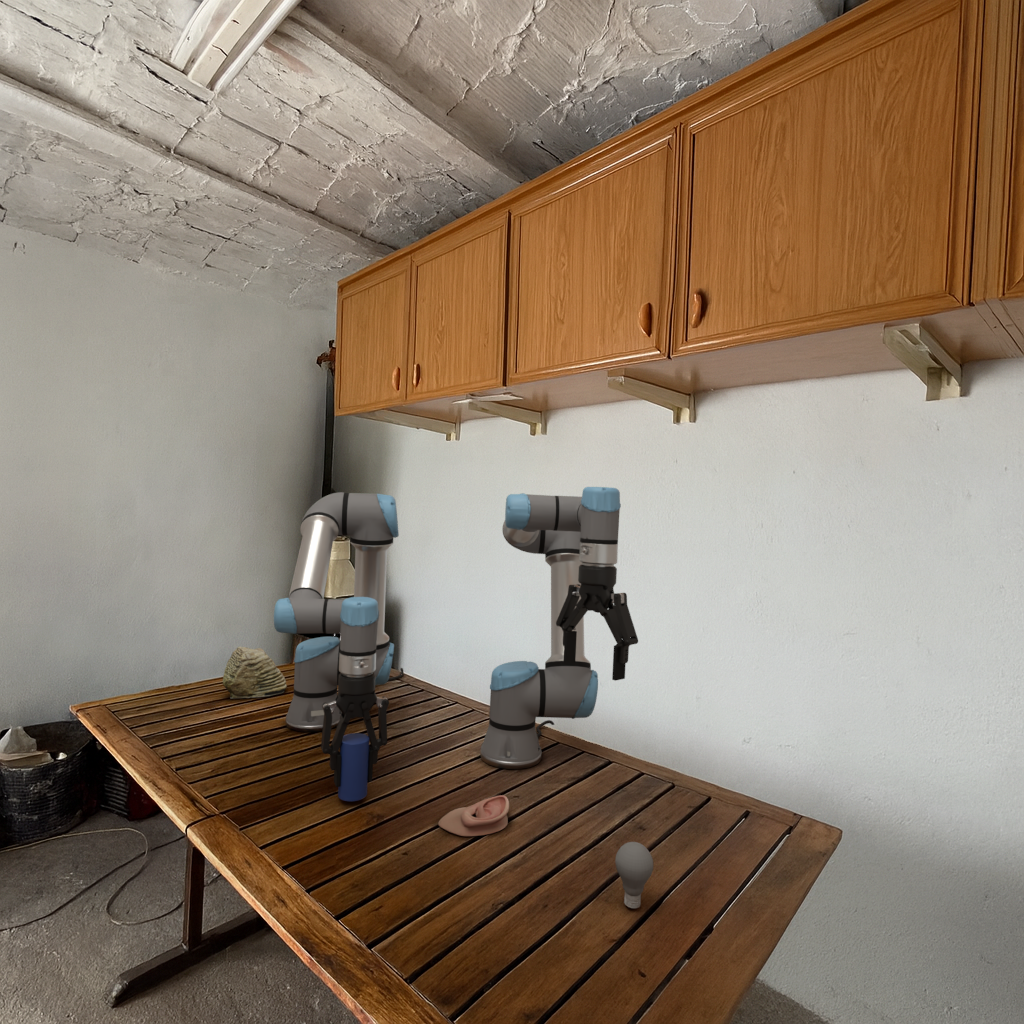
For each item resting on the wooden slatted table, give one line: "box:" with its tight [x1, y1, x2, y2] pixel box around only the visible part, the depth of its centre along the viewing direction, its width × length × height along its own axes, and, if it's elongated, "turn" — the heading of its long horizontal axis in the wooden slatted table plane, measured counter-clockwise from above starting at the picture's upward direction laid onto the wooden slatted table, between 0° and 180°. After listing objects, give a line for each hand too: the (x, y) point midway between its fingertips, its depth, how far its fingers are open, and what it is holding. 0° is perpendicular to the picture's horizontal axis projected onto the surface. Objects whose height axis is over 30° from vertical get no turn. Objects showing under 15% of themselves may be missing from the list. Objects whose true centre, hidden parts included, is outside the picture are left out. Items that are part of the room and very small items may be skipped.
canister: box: [337, 732, 370, 802], centre depth 133 cm, size 6×6×12 cm
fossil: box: [222, 646, 288, 699], centre depth 198 cm, size 9×18×15 cm, turn 132°
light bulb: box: [614, 841, 654, 909], centre depth 101 cm, size 6×6×10 cm
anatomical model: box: [437, 794, 510, 837], centre depth 126 cm, size 13×4×12 cm
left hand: (353, 781), depth 133 cm, fingers closed on canister, 6 cm apart
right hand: (592, 670), depth 126 cm, fingers open, 13 cm apart
